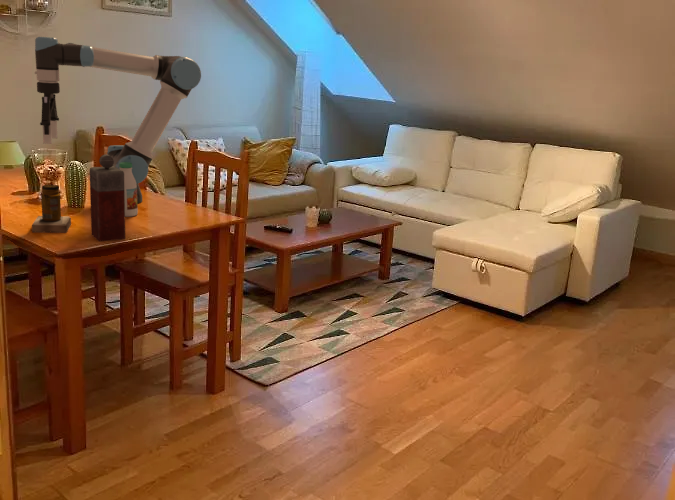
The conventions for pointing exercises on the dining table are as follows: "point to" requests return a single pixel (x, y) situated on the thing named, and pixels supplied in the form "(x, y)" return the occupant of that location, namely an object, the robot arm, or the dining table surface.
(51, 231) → the stand
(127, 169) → the milk bottle
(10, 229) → the dining table surface
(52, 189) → the condiment
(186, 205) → the dining table surface
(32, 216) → the dining table surface
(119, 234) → the square decanter
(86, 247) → the dining table surface
